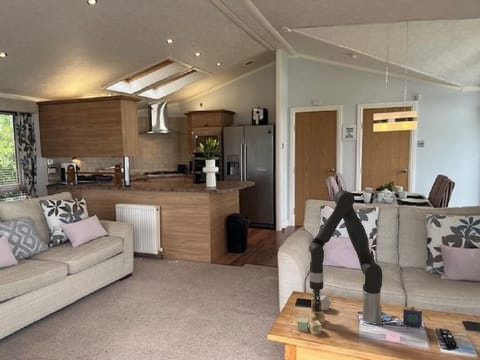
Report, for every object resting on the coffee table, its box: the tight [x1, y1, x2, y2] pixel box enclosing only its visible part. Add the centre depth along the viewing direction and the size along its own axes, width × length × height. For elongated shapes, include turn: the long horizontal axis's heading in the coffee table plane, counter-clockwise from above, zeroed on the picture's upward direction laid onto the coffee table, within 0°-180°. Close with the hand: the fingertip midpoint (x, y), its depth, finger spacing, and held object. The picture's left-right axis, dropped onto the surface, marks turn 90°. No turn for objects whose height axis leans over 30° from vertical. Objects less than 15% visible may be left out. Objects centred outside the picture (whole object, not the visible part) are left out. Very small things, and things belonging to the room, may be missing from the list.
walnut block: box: [310, 298, 323, 312], centre depth 201 cm, size 5×5×5 cm
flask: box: [402, 305, 423, 328], centre depth 194 cm, size 9×3×11 cm, turn 74°
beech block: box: [308, 320, 322, 336], centre depth 191 cm, size 5×5×5 cm
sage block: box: [297, 317, 309, 333], centre depth 194 cm, size 5×5×5 cm
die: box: [320, 295, 332, 312], centre depth 216 cm, size 8×9×10 cm
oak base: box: [308, 310, 326, 326], centre depth 201 cm, size 7×7×5 cm
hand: (316, 309), depth 201 cm, fingers closed on walnut block, 5 cm apart
